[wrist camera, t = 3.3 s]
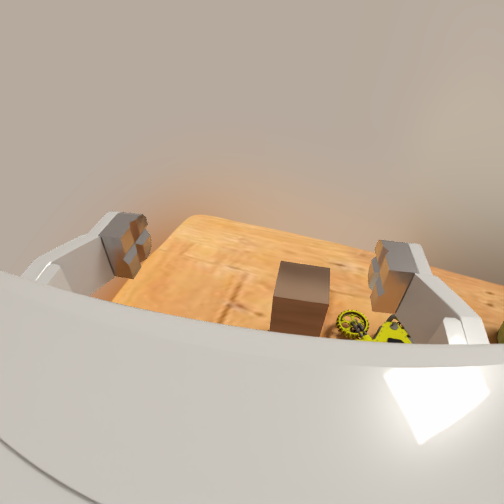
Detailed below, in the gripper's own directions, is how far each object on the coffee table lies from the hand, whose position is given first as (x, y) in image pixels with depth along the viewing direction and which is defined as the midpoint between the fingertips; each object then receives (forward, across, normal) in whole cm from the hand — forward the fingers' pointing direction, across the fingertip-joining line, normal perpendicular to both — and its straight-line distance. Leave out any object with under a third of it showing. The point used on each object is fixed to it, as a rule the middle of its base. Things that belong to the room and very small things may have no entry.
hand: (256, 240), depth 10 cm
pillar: (+10, +2, -22) cm, 24 cm away
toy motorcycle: (+12, +13, -22) cm, 28 cm away
